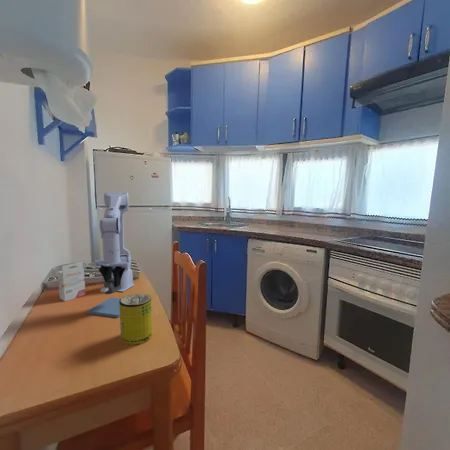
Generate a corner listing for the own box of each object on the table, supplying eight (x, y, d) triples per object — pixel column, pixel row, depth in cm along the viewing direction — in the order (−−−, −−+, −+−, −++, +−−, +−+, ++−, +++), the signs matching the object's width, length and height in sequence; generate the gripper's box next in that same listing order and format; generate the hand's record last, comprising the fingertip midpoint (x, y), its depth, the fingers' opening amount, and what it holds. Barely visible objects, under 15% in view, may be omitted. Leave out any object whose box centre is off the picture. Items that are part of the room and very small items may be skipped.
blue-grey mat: (110, 299, 109) (110, 297, 109) (139, 303, 105) (138, 300, 105) (87, 313, 96) (87, 310, 96) (118, 317, 93) (118, 315, 93)
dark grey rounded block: (115, 286, 104) (115, 276, 103) (123, 287, 103) (122, 277, 103) (99, 295, 95) (98, 284, 94) (106, 296, 94) (106, 285, 94)
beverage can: (151, 327, 86) (149, 292, 85) (153, 342, 78) (152, 302, 76) (121, 332, 83) (119, 295, 82) (120, 347, 75) (118, 307, 73)
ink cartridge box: (80, 292, 116) (78, 260, 115) (85, 295, 113) (83, 261, 112) (59, 298, 110) (56, 264, 108) (64, 301, 107) (61, 266, 105)
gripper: (87, 251, 96) (89, 287, 98) (121, 253, 93) (123, 290, 94) (100, 247, 103) (102, 281, 105) (133, 249, 99) (134, 284, 101)
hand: (113, 285), depth 100 cm, fingers closed on dark grey rounded block, 3 cm apart
